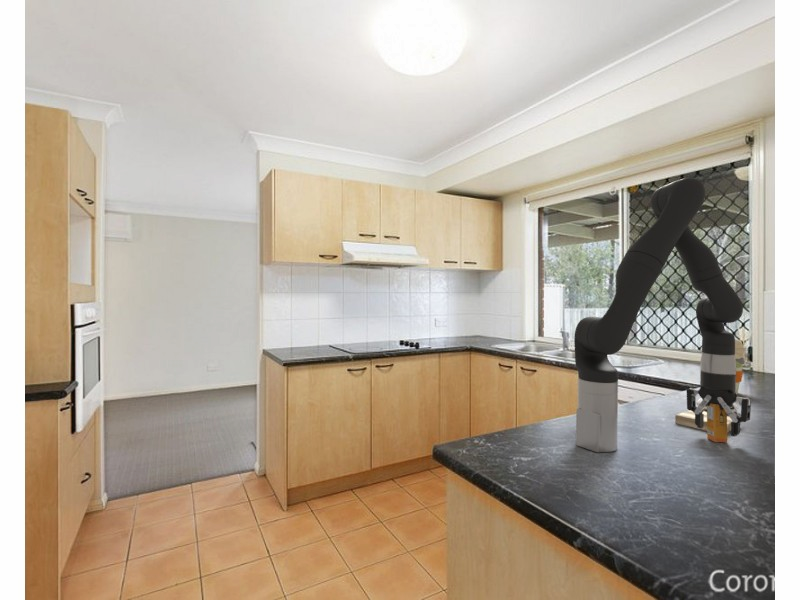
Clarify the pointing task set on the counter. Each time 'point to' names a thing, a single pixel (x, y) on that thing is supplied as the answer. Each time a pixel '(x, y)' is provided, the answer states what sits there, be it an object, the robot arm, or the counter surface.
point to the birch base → (689, 420)
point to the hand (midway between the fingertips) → (716, 431)
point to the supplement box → (716, 423)
